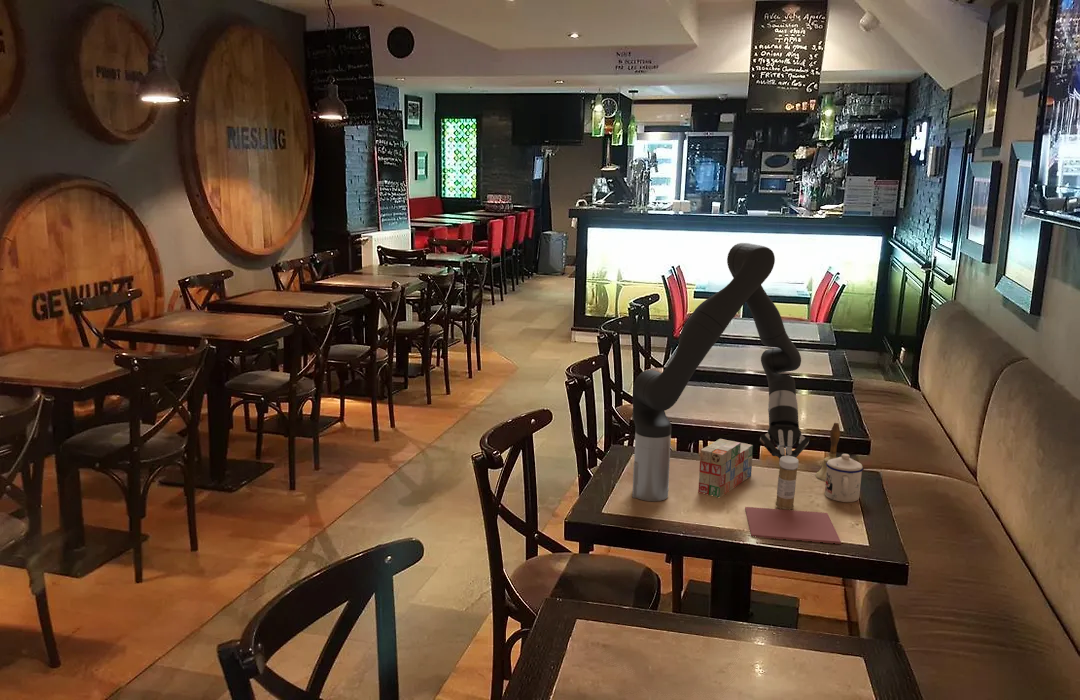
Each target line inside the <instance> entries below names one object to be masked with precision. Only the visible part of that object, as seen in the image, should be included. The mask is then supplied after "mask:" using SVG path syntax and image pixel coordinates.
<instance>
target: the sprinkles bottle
mask: <svg viewBox="0 0 1080 700" xmlns="http://www.w3.org/2000/svg"><path fill="white" fill-rule="evenodd" d="M778 461H779V460H778ZM799 463H800V462H799V459H798V458H797V457H796V458H795V457H793V456H782V457H781V458H780V461H779V463H778V465H779V466H778V467H779V469H778V470H779V471H778V478H777V479H778V480H777V489H776V500H775V506H776V507H777V509H782V510H794V507H795V505H794V502H795V496H796V484H797V473H798V469H799Z"/></svg>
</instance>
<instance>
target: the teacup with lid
mask: <svg viewBox="0 0 1080 700" xmlns="http://www.w3.org/2000/svg"><path fill="white" fill-rule="evenodd" d="M826 465H827V473H826V481H825V484H824V495H825V497H827V498H828V499H830V500H832V501H837V502H841V503H854V502H856V501H858V500H860V492H861V485H862V484H861V482H862V474H863V470H864V467H863V465H862V463H860V462H859V461H857V460H854V458H851V457H850V454H848V453H842V454H841V456H839V457H837V458H834V459H830V460H828V462H827V463H826Z"/></svg>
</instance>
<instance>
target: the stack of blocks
mask: <svg viewBox="0 0 1080 700" xmlns="http://www.w3.org/2000/svg"><path fill="white" fill-rule="evenodd" d="M753 449H754V445H753V444H751V443H750V444H748V443H745V442H739V441H735V440H727V439H723V438H719V439H717V440H716V441H713V442H712V443H711V444H709V445H707V446H705V447H703V448H702V449H700V457H699V459H700V460H699V470H698V471H699V475H698V476H699V477H698V489H697V493H699V492H700V494H703V493H705V494H704V495H706V494H708V496H711V495H713V496H712V497H714V496H717V497H716V498H718V497H720V498H721V497H723V496H724V495H727V492H728V493H729V492H730V490H731V489H732V490H733V489H734V488H736V487H737V486H739V485H740V484H742V481H743V482H745V481H746V480H748V477H749V478H750V477H751V476H752V466H753ZM735 486H736V487H735ZM732 490H731V491H732ZM722 495H723V496H722Z"/></svg>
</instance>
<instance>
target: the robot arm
mask: <svg viewBox="0 0 1080 700" xmlns="http://www.w3.org/2000/svg"><path fill="white" fill-rule="evenodd" d="M726 257H727V259H726V263H727V267H728V270H729V273H730V274H731V276H732V278H733V279H731V280H730V282H729V283H727V285H726V286H724V288H722V289H720V290H719V291H718V292H715V293H714V294H713V295H711V296H710V297H708V298H706V299H705V300H704V301H702V302H701V303H700V304H699V305H698V306H697V307H696V308H695V309H694V311H692V313H691V315H690V316H689V317H688V319H687V320H686V321H685V322H684V325H683V326H682V329H681V332H680V334H679V340H678V345H677V349H676V351H675V354H674V356H673V358H672V359H671V361H670V362H669V364H668V365H667V366H666V368H664V370H662V372H659V371H657V370H653V369H648V370H644V371H642V372H640V373H639V374H638V376H637V377H636V378H635V381H634V383H633V387H632V389H633V390H632V419H633V423H634V426H635V432H634V433H635V435H634V457H633V459H634V460H633V468H632V469H633V470H632V473H633V474H632V496H631V497H632V498H633V499H639V500H642V501H644V502H645V501H646V502H660V501H664V500H666V499H667V498H668V497H669V489H670V488H669V482H670V463H671V442H672V441H671V440H672V423H671V421H670V419H669V418H668V416H667V414H666V412H665V411H667V410H669V409H671V408H672V407H673V406H674V405H675V404H676V403H677V401H678V400H679V398H680V397H681V395H682V394H683V392H684V391H685V389H686V387H687V385H688V383H689V381H690V380H691V378H692V376H693V375H694V373H695V372H696V370H697V369H698V368H699V366H700V365H701V364H702V362H703V360H704V359H705V358H706V356H707V354H708V353H709V352H710V351H711V350H712V348H713V346H714V345H716V343H717V341H718V340H719V339H720V338H721V336H722V335H723V333H724V332H725V330H726V329H727V327H729V324H730V323H731V322H732V321H733V319H734V318H735V317H736V315H737V314H738V312H739V311H740V310H741V309H742V307H743V306H744V305H745V303H746V305H747V307H748V309H749V310H750V311H749V312H750V314H751V316H752V319H753V321H754V324H755V328H756V330H757V333H758V336H759V340H760V342H761V344H762V345H763V346H765V347H770V348H768V349H766V350H765V349H764V351H763V352H762V354H761V356H760V364H761V366H762V369H763V371H764V373H765V376H766V379H767V384H768V406H767V408H768V409H767V411H768V429H767V433H765V434H763V433H762V434H761V435H760V438H759V442H760V443H761V445H762V446H763V447H764V448H765V449H766V450H767V451H768V452H769V454H770V455H771V456H772V457H777V458H778V461H780V458H781V457H782V456H793V457H795V458H797V457H799V455H800V454H801V453H802V452H803V451H804V450H805V449H806V447H807V446H808V445H809V442H810V440H811V439H810V437H808V436H806V437H805V436H804V435H802V432H801V430H800V427H799V426H800V423H799V422H800V421H799V412H798V411H799V410H798V409H799V407H798V406H799V405H798V399H797V393H796V391H797V388H796V381H795V379H794V377H793V376H792V375H789V374H786V373H787V372H792V371H796V370H798V369H799V368H800V366H801V363H802V357H801V354H800V353H801V352H800V351H799V350H798V348H797V346H796V345H795V344H794V343H793V341H792V340H791V339H790V336H789V335H788V333H787V331H786V328H785V324H784V321H783V318H782V316H781V313H780V311H779V309H778V308H777V306H776V304H775V303H774V302H773V300H772V298H770V296H769V294H768V293H767V292H766V290H765V289H764V287H763V286H762V285H763V283H764V282H765V281H766V280H767V278H768V277H769V276H770V274H771V273H772V272H773V269H774V266H775V263H776V262H775V261H776V260H775V259H776V258H775V253H774V252H773V250H772V249H771V248H769V247H768V246H764V245H761V244H760V245H759V244H753V243H749V242H739V243H735V244H734V245H733V246H732V247H731V248H730V249H729V251H728V254H727V256H726ZM772 347H773V348H772ZM797 441H798V445H797V447H796V448H795V449H794V450H793V446H794V445H795V444H796V443H797ZM774 444H775V445H774Z"/></svg>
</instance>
